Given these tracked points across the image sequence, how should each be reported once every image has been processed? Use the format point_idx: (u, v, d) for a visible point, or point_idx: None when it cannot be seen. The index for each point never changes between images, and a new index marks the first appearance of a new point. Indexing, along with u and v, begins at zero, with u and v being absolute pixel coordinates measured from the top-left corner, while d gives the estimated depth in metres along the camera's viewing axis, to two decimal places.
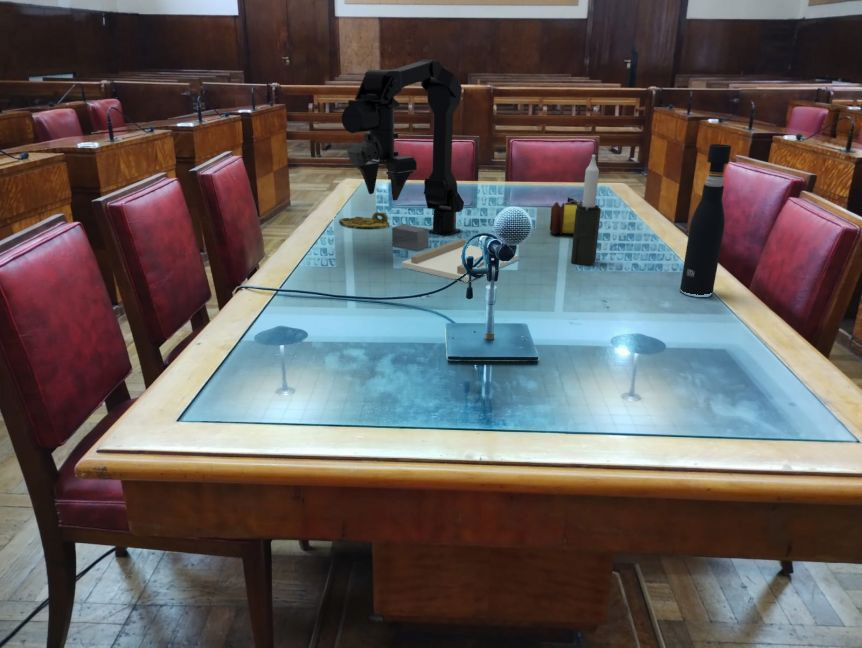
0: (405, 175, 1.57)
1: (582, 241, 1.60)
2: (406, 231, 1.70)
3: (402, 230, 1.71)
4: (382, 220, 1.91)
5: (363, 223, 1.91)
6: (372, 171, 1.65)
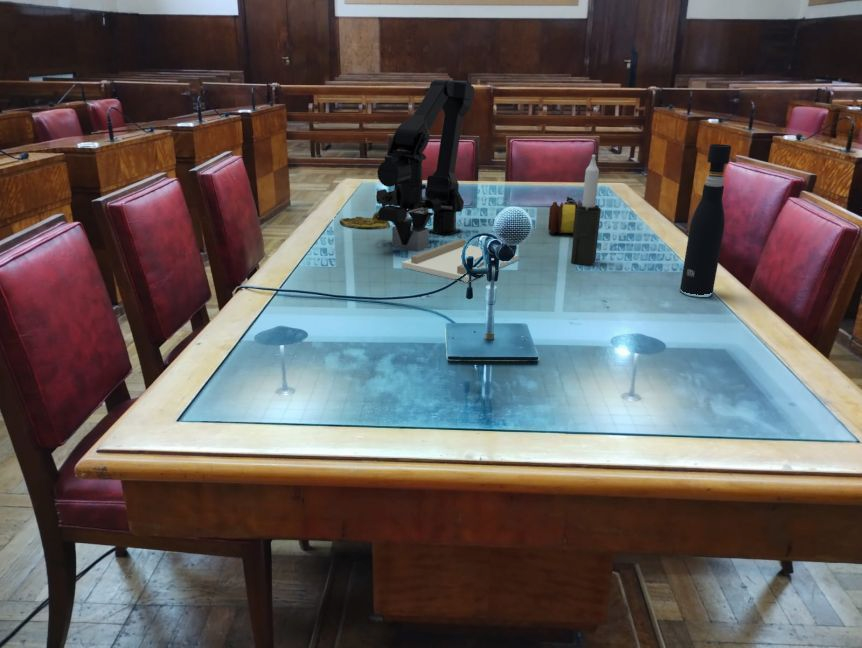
0: (404, 224, 1.67)
1: (582, 241, 1.60)
2: None
3: None
4: (382, 220, 1.91)
5: (363, 223, 1.90)
6: (419, 221, 1.73)
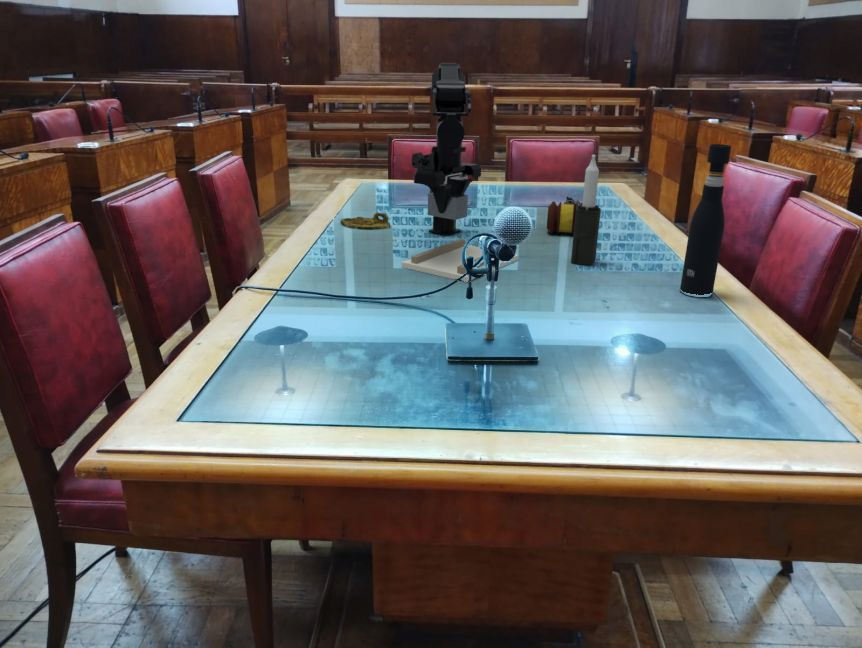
0: (442, 189, 1.53)
1: (582, 241, 1.60)
2: None
3: None
4: (383, 220, 1.91)
5: (364, 223, 1.90)
6: (458, 188, 1.59)
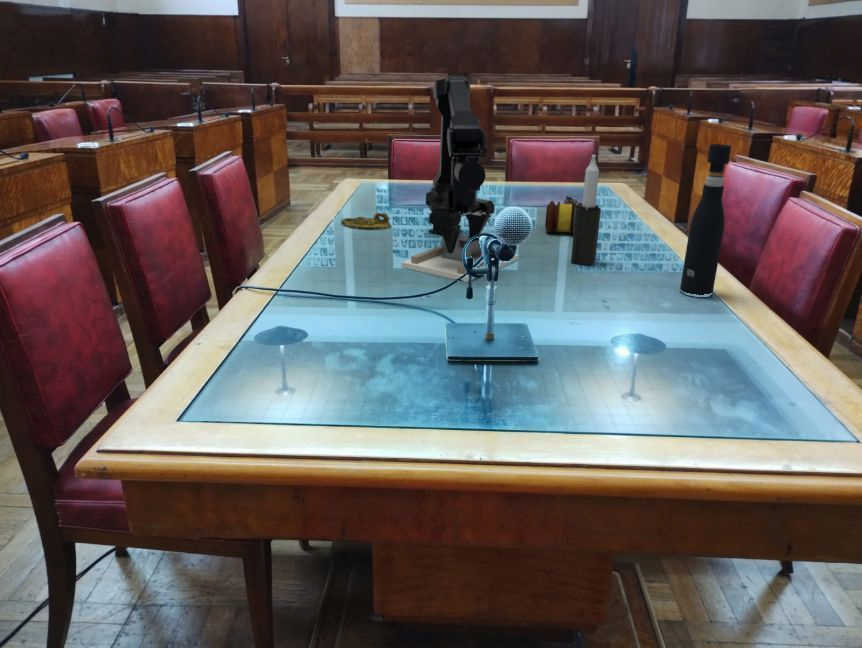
0: (452, 230, 1.52)
1: (582, 241, 1.60)
2: (458, 241, 1.57)
3: None
4: (383, 221, 1.91)
5: (364, 223, 1.90)
6: (477, 223, 1.61)
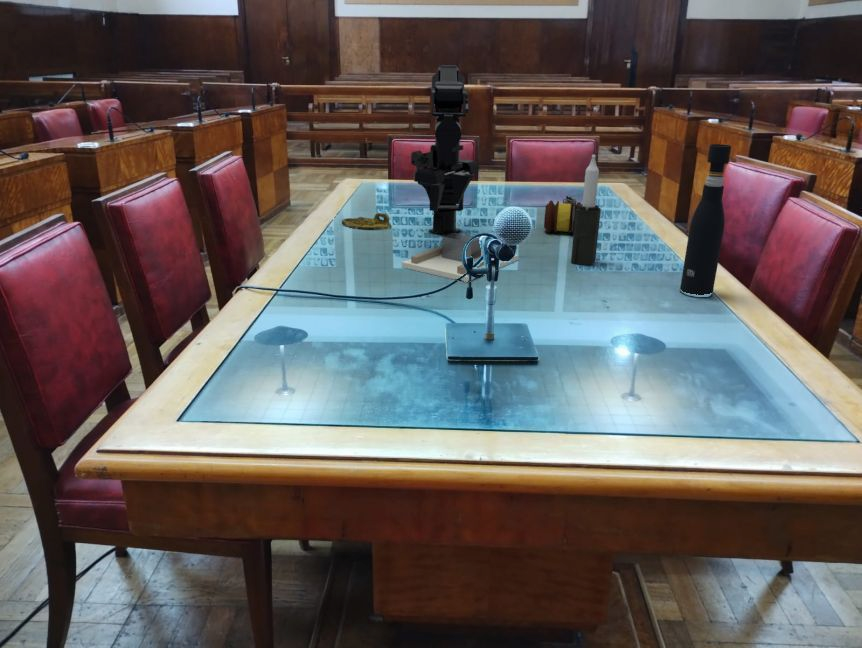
0: (436, 188, 1.58)
1: (582, 241, 1.60)
2: (458, 241, 1.57)
3: (454, 240, 1.58)
4: (383, 221, 1.90)
5: (364, 224, 1.90)
6: (460, 183, 1.67)
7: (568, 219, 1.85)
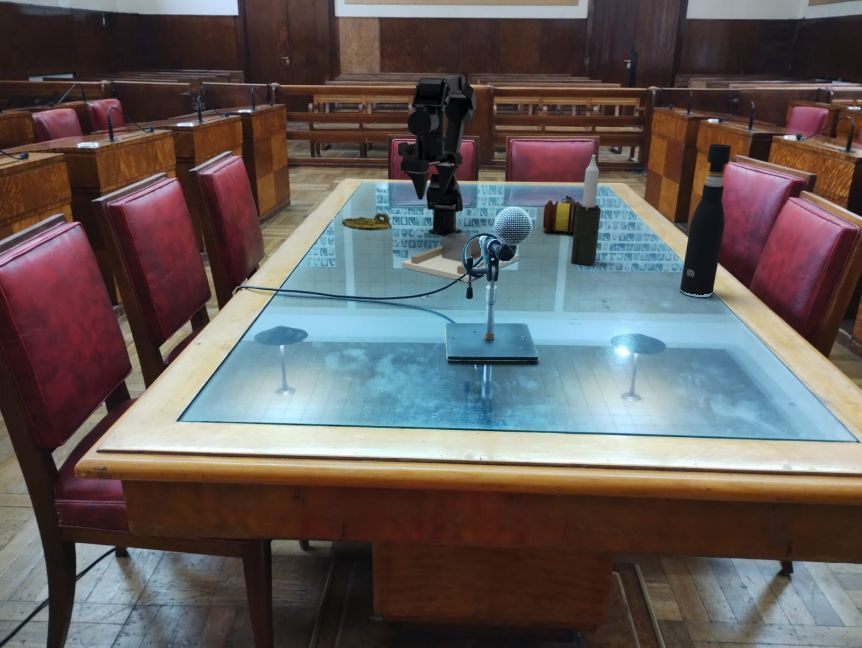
0: (421, 177, 1.65)
1: (582, 241, 1.60)
2: (458, 241, 1.57)
3: (454, 240, 1.58)
4: (384, 221, 1.90)
5: (364, 224, 1.90)
6: (446, 174, 1.74)
7: (567, 219, 1.85)
